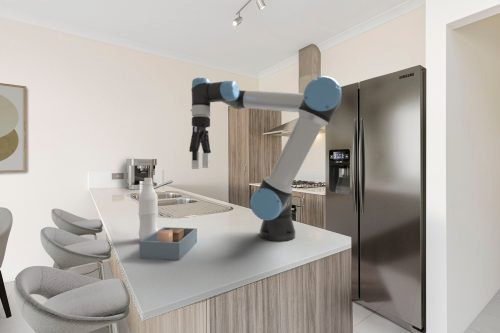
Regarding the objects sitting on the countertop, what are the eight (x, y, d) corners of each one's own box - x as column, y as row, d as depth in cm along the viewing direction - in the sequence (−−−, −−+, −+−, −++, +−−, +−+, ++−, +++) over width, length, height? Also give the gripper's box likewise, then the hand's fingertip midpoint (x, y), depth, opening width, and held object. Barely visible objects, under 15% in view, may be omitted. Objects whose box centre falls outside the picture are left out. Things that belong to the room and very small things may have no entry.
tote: (197, 242, 98) (197, 228, 98) (179, 260, 81) (179, 243, 81) (163, 240, 100) (163, 227, 100) (139, 257, 83) (139, 241, 82)
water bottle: (151, 243, 96) (151, 178, 96) (134, 242, 98) (134, 178, 97) (161, 238, 103) (161, 177, 103) (145, 237, 105) (145, 177, 104)
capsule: (175, 249, 89) (175, 230, 88) (168, 255, 84) (168, 234, 84) (161, 249, 89) (161, 229, 89) (154, 254, 84) (154, 233, 84)
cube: (183, 241, 97) (183, 229, 97) (178, 246, 92) (178, 232, 92) (171, 241, 98) (171, 228, 98) (165, 245, 93) (165, 232, 93)
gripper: (201, 121, 117) (201, 167, 118) (180, 111, 92) (180, 169, 93) (217, 121, 116) (217, 167, 117) (200, 111, 92) (200, 169, 92)
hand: (200, 168), depth 105 cm, fingers open, 13 cm apart
